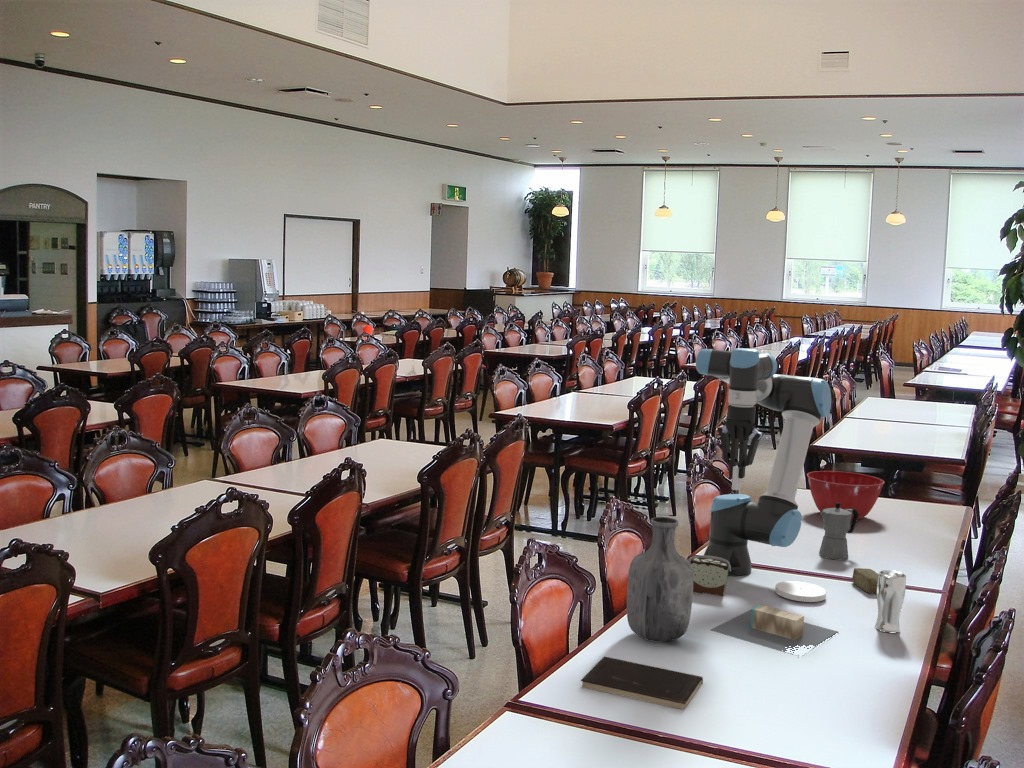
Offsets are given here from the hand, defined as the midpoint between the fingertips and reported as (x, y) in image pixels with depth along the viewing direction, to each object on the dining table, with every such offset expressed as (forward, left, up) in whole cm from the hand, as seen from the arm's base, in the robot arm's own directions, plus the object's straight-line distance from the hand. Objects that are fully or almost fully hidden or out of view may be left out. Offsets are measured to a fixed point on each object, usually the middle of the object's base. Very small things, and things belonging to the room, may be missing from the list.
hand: (736, 489), depth 283 cm
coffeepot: (+3, +69, -32) cm, 76 cm away
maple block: (+16, -15, -29) cm, 36 cm away
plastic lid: (+13, +19, -32) cm, 39 cm away
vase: (+2, -41, -32) cm, 52 cm away
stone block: (+24, +42, -32) cm, 58 cm away
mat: (+21, -15, -32) cm, 41 cm away
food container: (-7, +2, -32) cm, 33 cm away
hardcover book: (+15, -69, -32) cm, 77 cm away
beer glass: (+41, +10, -32) cm, 53 cm away
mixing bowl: (-18, +126, -32) cm, 131 cm away
